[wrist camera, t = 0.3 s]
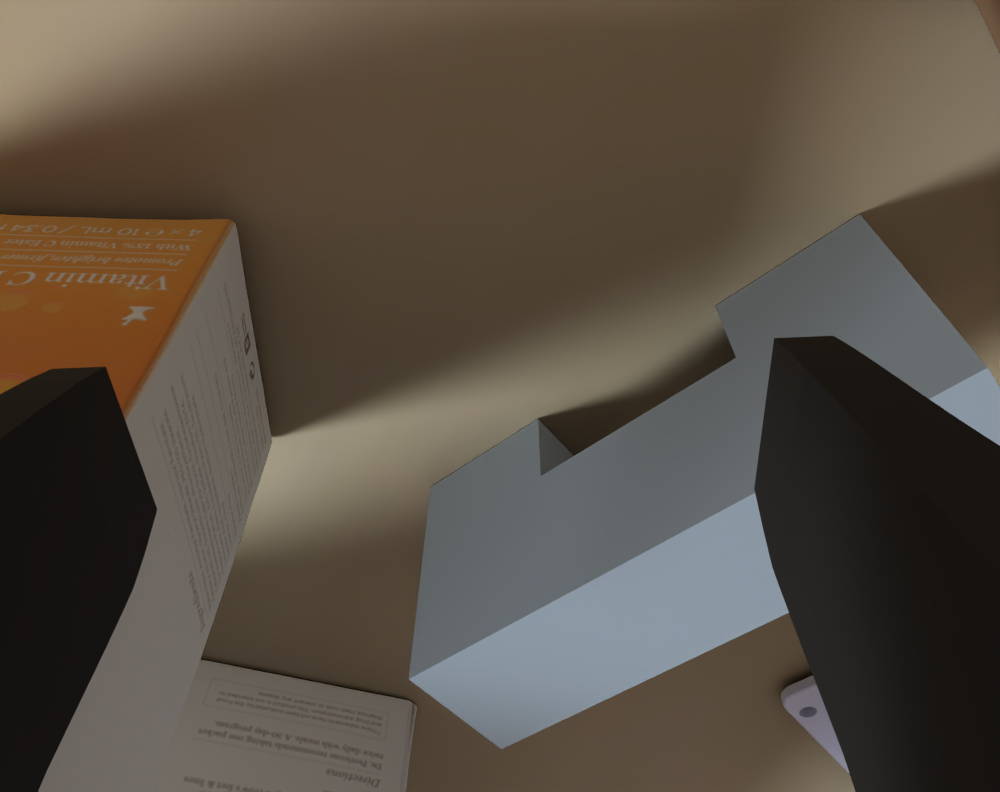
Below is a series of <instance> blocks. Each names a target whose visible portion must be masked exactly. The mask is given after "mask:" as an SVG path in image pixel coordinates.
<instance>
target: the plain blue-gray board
mask: <svg viewBox="0 0 1000 792" xmlns="http://www.w3.org/2000/svg"><path fill="white" fill-rule="evenodd" d="M715 307H716V309H717V312H718V314H719V317H720V319H721V322H722V324H723V326H724V329H725V331H726V334H727V336H728V339H729V341H730V344H731V346H732V349H733V351H734V354H735V356H736V358H735V359H733V360H732V361H730V362H728V363H727V364H725V365H723V366H722V367H720V368H718V369H717V370H715V371H713V372H712V373H710V374H708V375H707V376H705V377H704V378H702V379H700V380H699V381H697V382H695V383H694V384H692V385H690V386H689V387H687V388H685V389H684V390H682V391H680V392H679V393H677V394H675V395H674V396H672V397H671V398H669V399H667V400H666V401H664V402H662V403H661V404H659V405H657V406H656V407H654V408H652V409H651V410H649V411H647V412H646V413H644V414H642V415H641V416H639V417H638V418H636V419H634V420H633V421H631V422H629V423H628V424H626V425H624V426H623V427H621V428H619V429H618V430H616V431H614V432H613V433H611V434H609V435H608V436H606V437H605V438H603V439H601V440H600V441H598V442H596V443H595V444H593V445H591V446H590V447H588V448H586V449H585V450H583V451H581V452H580V453H578V454H576V455H575V456H573V455H572V454H571V453H570V452H569V451H568V449H567V448H566V447H565V446H564V445H563V444H562V443H561V442H560V441H559V440H558V439H557V438H556V437H555V436H554V435H553V434H552V433H551V432H550V431H549V430H548V429H547V428H546V427H545V425H544V424H543V423H542V422H541V421H540V420H539V419H537V420H535V421H534V422H532V423H531V424H529V425H527V426H526V427H524V428H523V429H521V430H520V431H518V432H516V433H515V434H513V435H512V436H510V437H509V438H507V439H505V440H504V441H502V442H501V443H499V444H498V445H496V446H494V447H493V448H491V449H490V450H488V451H487V452H485V453H483V454H482V455H480V456H479V457H477V458H476V459H474V460H472V461H471V462H469V463H468V464H466V465H465V466H463V467H461V468H460V469H458V470H457V471H455V472H454V473H452V474H450V475H449V476H447V477H446V478H444V479H443V480H441V481H439V482H438V483H436V484H435V485H433V486H432V487H431V488H430V497H429V506H428V514H427V523H426V532H425V540H424V549H423V558H422V567H421V575H420V584H419V593H418V601H417V610H416V619H415V628H414V636H413V645H412V654H411V662H410V671H409V680H410V681H411V682H413V683H414V684H415V685H417V686H418V687H419V688H421V689H422V690H423V691H425V692H426V693H427V694H429V695H430V696H431V697H433V698H434V699H435V700H437V701H438V702H439V703H441V704H442V705H443V706H445V707H446V708H447V709H449V710H450V711H451V712H453V713H454V714H455V715H457V716H458V717H459V718H461V719H462V720H463V721H464V722H466V723H467V724H468V725H470V726H471V727H472V728H474V729H475V730H476V731H478V732H479V733H480V734H482V735H483V736H484V737H486V738H487V739H488V740H490V741H491V742H492V743H494V744H495V745H496V746H498V747H499V748H500V749H503V748H505V747H508V746H510V745H512V744H514V743H516V742H518V741H520V740H522V739H524V738H526V737H529V736H531V735H533V734H535V733H537V732H539V731H541V730H543V729H545V728H547V727H550V726H552V725H554V724H556V723H558V722H560V721H562V720H564V719H566V718H569V717H571V716H573V715H575V714H577V713H579V712H581V711H583V710H585V709H587V708H590V707H592V706H594V705H596V704H598V703H600V702H602V701H604V700H606V699H608V698H611V697H613V696H615V695H617V694H619V693H621V692H623V691H625V690H627V689H629V688H632V687H634V686H636V685H638V684H640V683H642V682H644V681H646V680H648V679H651V678H653V677H655V676H657V675H659V674H661V673H663V672H665V671H667V670H669V669H672V668H674V667H676V666H678V665H680V664H682V663H684V662H686V661H688V660H690V659H693V658H695V657H697V656H699V655H701V654H703V653H705V652H707V651H709V650H712V649H714V648H716V647H718V646H720V645H722V644H724V643H726V642H728V641H730V640H733V639H735V638H737V637H739V636H741V635H743V634H745V633H747V632H749V631H751V630H754V629H756V628H758V627H760V626H762V625H764V624H766V623H768V622H770V621H772V620H775V619H777V618H779V617H781V616H783V615H785V614H787V613H789V611H788V609H787V606H786V603H785V601H784V598H783V595H782V593H781V590H780V587H779V584H778V582H777V579H776V576H775V573H774V571H773V568H772V564H771V560H770V556H769V552H768V547H767V543H766V539H765V535H764V531H763V526H762V522H761V517H760V513H759V508H758V504H757V499H756V494H755V490H754V486H755V479H756V471H757V464H758V456H759V448H760V441H761V433H762V426H763V418H764V411H765V403H766V395H767V388H768V380H769V373H770V365H771V358H772V350H773V343H774V338H789V337H812V336H835V337H836V338H838V339H840V340H842V341H843V342H845V343H847V344H848V345H850V346H851V347H853V348H855V349H856V350H858V351H859V352H861V353H862V354H864V355H865V356H867V357H868V358H870V359H871V360H873V361H874V362H876V363H877V364H879V365H880V366H882V367H883V368H885V369H886V370H887V371H889V372H890V373H892V374H893V375H895V376H896V377H898V378H899V379H901V380H902V381H903V382H905V383H906V384H908V385H909V386H911V387H912V388H914V389H915V390H917V391H918V392H919V393H921V394H922V395H924V396H925V397H927V398H928V399H930V400H931V401H933V402H934V403H936V404H937V405H939V406H940V407H941V408H943V409H944V410H946V411H947V412H949V413H950V414H952V415H953V416H955V417H956V418H958V419H959V420H961V421H962V422H964V423H965V424H967V425H968V426H970V427H972V428H973V429H975V430H976V431H978V432H979V433H981V434H982V435H984V436H985V437H987V438H988V439H990V440H992V441H993V442H995V443H996V444H998V445H999V446H1000V387H999V386H998V384H997V382H996V381H995V379H994V377H993V375H992V374H991V372H990V370H989V369H988V367H987V366H986V365H985V363H984V362H983V361H982V360H981V359H980V357H979V356H978V355H977V354H976V353H975V351H974V350H973V349H972V348H971V347H970V345H969V344H968V343H967V342H966V341H965V339H964V338H963V337H962V336H961V335H960V333H959V332H958V331H957V330H956V329H955V328H954V326H953V325H952V324H951V323H950V322H949V320H948V319H947V318H946V317H945V316H944V314H943V313H942V312H941V311H940V310H939V308H938V307H937V306H936V305H935V304H934V302H933V301H932V300H931V299H930V298H929V296H928V295H927V294H926V293H925V292H924V290H923V289H922V288H921V287H920V286H919V284H918V283H917V282H916V281H915V280H914V278H913V277H912V276H911V275H910V274H909V272H908V271H907V270H906V269H905V268H904V266H903V265H902V264H901V263H900V262H899V260H898V259H897V258H896V257H895V256H894V254H893V253H892V252H891V251H890V250H889V248H888V247H887V246H886V245H885V244H884V242H883V241H882V240H881V239H880V238H879V236H878V235H877V234H876V233H875V232H874V230H873V229H872V228H871V227H870V226H869V224H868V223H867V222H866V221H865V220H864V218H863V217H862V216H861V215H860V214H859V215H857V216H856V217H854V218H853V219H851V220H850V221H848V222H846V223H845V224H843V225H842V226H840V227H839V228H837V229H835V230H834V231H832V232H831V233H829V234H828V235H826V236H824V237H823V238H821V239H820V240H818V241H817V242H815V243H813V244H812V245H810V246H809V247H807V248H806V249H804V250H802V251H801V252H799V253H798V254H796V255H795V256H793V257H791V258H790V259H788V260H787V261H785V262H784V263H782V264H780V265H779V266H777V267H776V268H774V269H773V270H771V271H769V272H768V273H766V274H765V275H763V276H762V277H760V278H758V279H757V280H755V281H754V282H752V283H751V284H749V285H747V286H746V287H744V288H743V289H741V290H740V291H738V292H736V293H735V294H733V295H732V296H730V297H729V298H727V299H725V300H724V301H722V302H721V303H719V304H718V305H716V306H715Z"/></svg>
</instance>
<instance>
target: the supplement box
mask: <svg viewBox="0 0 1000 792" xmlns="http://www.w3.org/2000/svg"><path fill="white" fill-rule="evenodd" d="M416 712H417V707H416V705H415V704H413V703H412V702H410V701H409V700H404V699H399V698H394V697H389V696H384V695H379V694H373V693H368V692H363V691H358V690H352V689H347V688H343V687H338V686H333V685H328V684H323V683H318V682H313V681H308V680H303V679H298V678H293V677H288V676H282V675H277V674H272V673H267V672H261V671H256V670H251V669H247V668H242V667H237V666H232V665H227V664H222V663H217V662H211V661H206V660H201V659H200V662H199V665H198V668H197V671H196V674H195V676H194V679H193V682H192V685H191V688H190V691H189V694H188V697H187V700H186V703H185V706H184V709H183V712H182V714H181V717H180V720H179V723H178V726H177V729H176V732H175V735H174V738H173V741H172V744H171V747H170V750H169V753H168V756H167V758H166V761H165V764H164V767H163V770H162V773H161V776H160V779H159V782H158V785H157V788H156V791H155V792H406V788H407V778H408V769H409V760H410V753H411V745H412V738H413V731H414V725H415V718H416Z"/></svg>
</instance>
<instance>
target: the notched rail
mask: <svg viewBox="0 0 1000 792" xmlns="http://www.w3.org/2000/svg"><path fill="white" fill-rule="evenodd" d="M975 1H976V3H977V5H978V8H979V10H980V12H981V14H982V16H983V18H984V20H985V23H986V25H987V27H988V29H989V31H990V33H991V35H992V38H993V40H994V42H995V44H996V46H997V48H998V50H999V52H1000V0H975Z"/></svg>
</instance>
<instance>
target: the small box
mask: <svg viewBox="0 0 1000 792" xmlns="http://www.w3.org/2000/svg"><path fill="white" fill-rule="evenodd" d="M83 367H106V369H107V371H108V374H109V377H110V380H111V382H112V385H113V388H114V391H115V393H116V396H117V399H118V402H119V405H120V407H121V410H122V413H123V416H124V418H125V421H126V424H127V427H128V429H129V432H130V435H131V438H132V440H133V443H134V446H135V449H136V452H137V454H138V457H139V460H140V463H141V465H142V468H143V471H144V474H145V476H146V479H147V482H148V485H149V487H150V490H151V493H152V496H153V498H154V501H155V504H156V507H157V513H156V516H155V520H154V523H153V527H152V530H151V534H150V537H149V541H148V545H147V548H146V552H145V555H144V558H143V561H142V564H141V567H140V570H139V573H138V576H137V579H136V582H135V585H134V588H133V591H132V593H131V595H130V597H129V599H128V602H127V604H126V606H125V608H124V611H123V613H122V615H121V617H120V619H119V621H118V623H117V626H116V628H115V630H114V632H113V634H112V636H111V638H110V640H109V643H108V645H107V647H106V649H105V651H104V653H103V655H102V657H101V660H100V662H99V664H98V666H97V668H96V670H95V672H94V674H93V676H92V678H91V680H90V682H89V684H88V687H87V689H86V691H85V693H84V695H83V697H82V699H81V701H80V703H79V705H78V707H77V709H76V712H75V714H74V716H73V718H72V720H71V722H70V724H69V726H68V728H67V730H66V732H65V734H64V737H63V739H62V741H61V743H60V745H59V747H58V749H57V751H56V753H55V755H54V757H53V759H52V762H51V764H50V766H49V768H48V770H47V772H46V774H45V777H44V779H43V781H42V784H41V786H40V788H39V791H38V792H155V791H156V788H157V785H158V782H159V779H160V776H161V773H162V770H163V767H164V764H165V761H166V758H167V756H168V753H169V750H170V747H171V744H172V741H173V738H174V735H175V732H176V729H177V726H178V723H179V720H180V717H181V714H182V712H183V709H184V706H185V703H186V700H187V697H188V694H189V691H190V688H191V685H192V682H193V679H194V676H195V674H196V671H197V668H198V665H199V662H200V659H201V656H202V653H203V650H204V648H205V645H206V642H207V639H208V636H209V633H210V630H211V627H212V624H213V621H214V618H215V615H216V612H217V609H218V606H219V604H220V601H221V598H222V595H223V592H224V589H225V586H226V583H227V580H228V577H229V574H230V571H231V568H232V565H233V562H234V559H235V556H236V553H237V549H238V546H239V543H240V540H241V537H242V534H243V530H244V527H245V524H246V521H247V518H248V514H249V511H250V508H251V505H252V502H253V499H254V496H255V493H256V490H257V487H258V484H259V481H260V478H261V475H262V472H263V469H264V466H265V463H266V460H267V457H268V454H269V450H270V447H271V444H272V438H271V432H270V426H269V420H268V413H267V408H266V402H265V396H264V389H263V383H262V378H261V372H260V366H259V360H258V354H257V349H256V343H255V337H254V331H253V325H252V320H251V314H250V308H249V301H248V296H247V290H246V284H245V277H244V271H243V265H242V258H241V252H240V246H239V239H238V233H237V227H236V224H235V223H234V222H233V221H232V220H229V219H198V220H160V219H111V218H87V217H53V216H24V215H4V214H0V394H2V393H3V392H5V391H7V390H9V389H11V388H13V387H15V386H16V385H18V384H20V383H22V382H24V381H26V380H28V379H30V378H32V377H34V376H37V375H39V374H41V373H43V372H46V371H48V370H50V369H59V368H83Z"/></svg>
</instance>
